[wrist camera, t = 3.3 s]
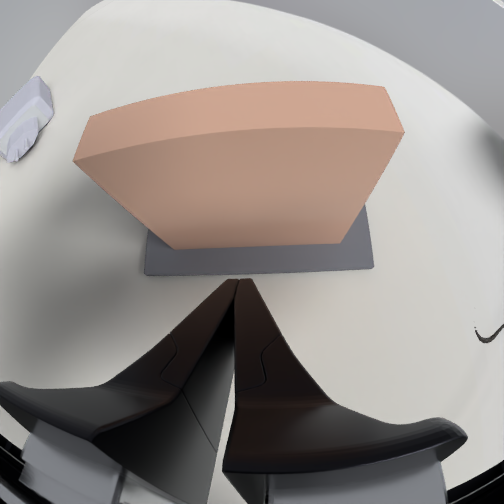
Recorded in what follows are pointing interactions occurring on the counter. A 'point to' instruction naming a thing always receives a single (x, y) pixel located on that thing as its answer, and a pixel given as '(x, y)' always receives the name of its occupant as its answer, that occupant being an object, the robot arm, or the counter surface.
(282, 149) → the tile
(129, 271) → the counter surface
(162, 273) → the mat
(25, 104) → the charger
